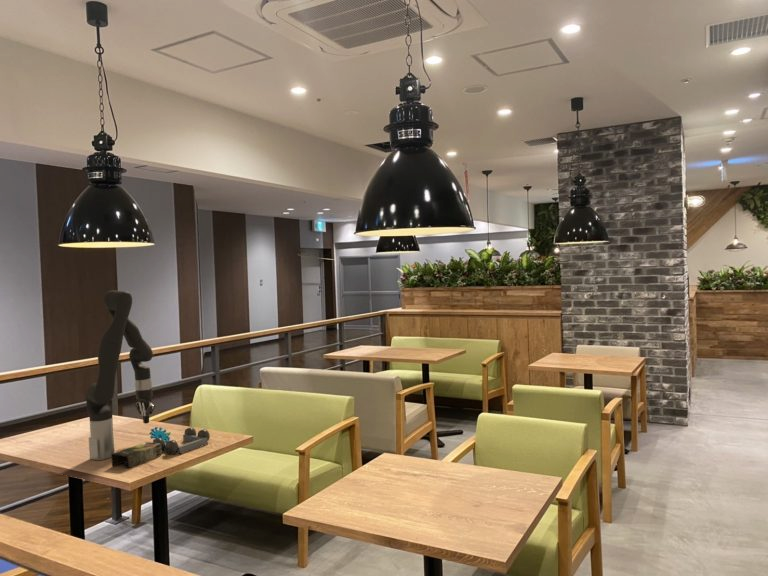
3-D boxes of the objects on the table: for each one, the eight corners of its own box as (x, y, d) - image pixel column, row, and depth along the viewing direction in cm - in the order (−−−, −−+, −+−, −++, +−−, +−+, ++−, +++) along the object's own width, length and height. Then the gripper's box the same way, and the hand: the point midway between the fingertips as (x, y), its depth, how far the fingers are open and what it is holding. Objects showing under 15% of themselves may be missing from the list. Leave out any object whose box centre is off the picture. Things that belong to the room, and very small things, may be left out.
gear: (156, 444, 271) (147, 427, 275) (149, 452, 273) (141, 435, 277) (176, 441, 280) (167, 424, 284) (169, 448, 282) (161, 432, 286)
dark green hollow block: (148, 452, 265) (147, 439, 264) (164, 454, 261) (163, 441, 260) (111, 467, 246) (110, 453, 246) (128, 470, 242) (127, 456, 242)
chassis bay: (176, 455, 258) (175, 442, 258) (152, 451, 266) (152, 438, 265) (211, 442, 275) (210, 430, 275) (188, 438, 283) (187, 426, 283)
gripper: (128, 388, 283) (131, 423, 284) (145, 390, 276) (148, 426, 277) (141, 385, 289) (144, 419, 290) (159, 387, 282) (161, 422, 283)
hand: (146, 423), depth 283 cm, fingers closed
